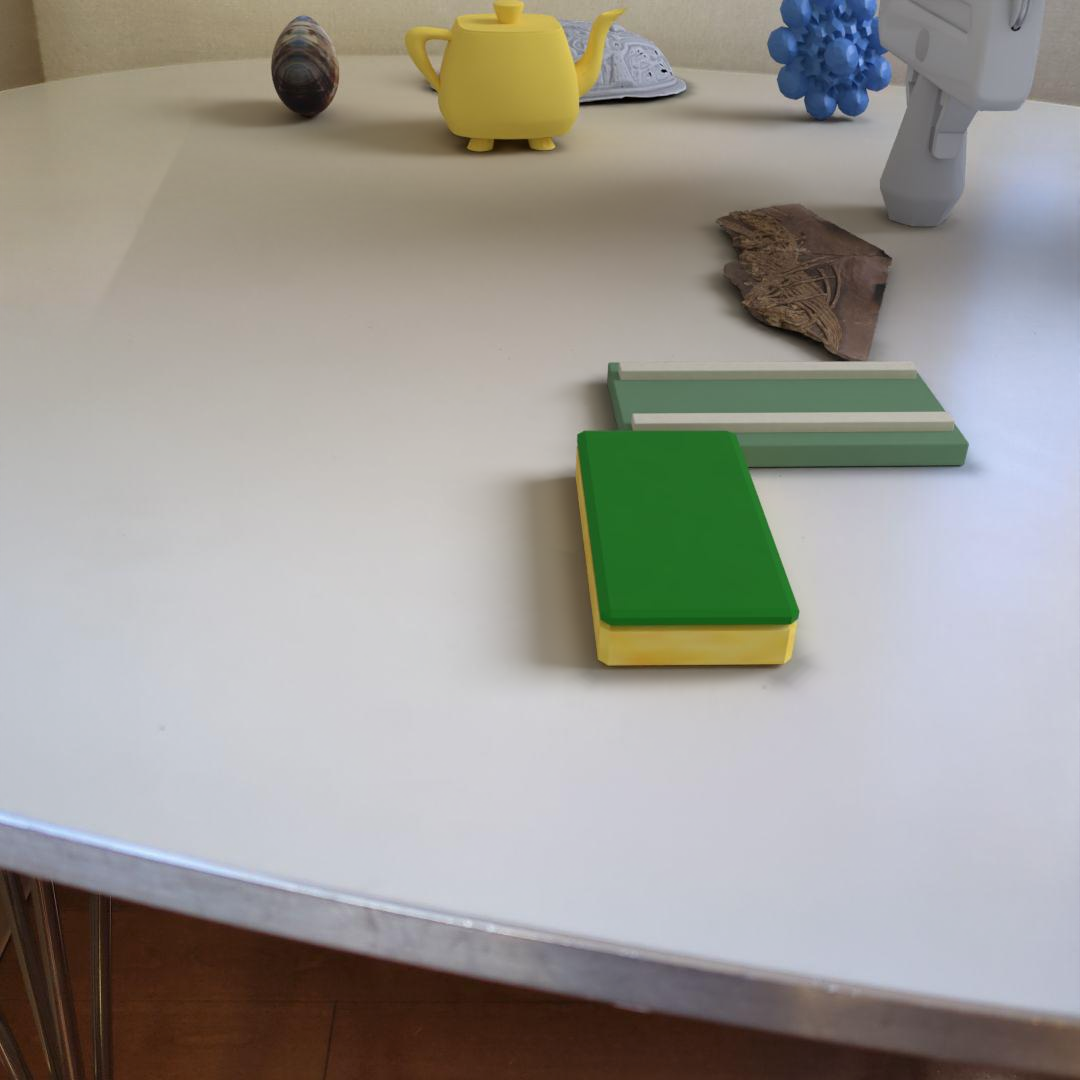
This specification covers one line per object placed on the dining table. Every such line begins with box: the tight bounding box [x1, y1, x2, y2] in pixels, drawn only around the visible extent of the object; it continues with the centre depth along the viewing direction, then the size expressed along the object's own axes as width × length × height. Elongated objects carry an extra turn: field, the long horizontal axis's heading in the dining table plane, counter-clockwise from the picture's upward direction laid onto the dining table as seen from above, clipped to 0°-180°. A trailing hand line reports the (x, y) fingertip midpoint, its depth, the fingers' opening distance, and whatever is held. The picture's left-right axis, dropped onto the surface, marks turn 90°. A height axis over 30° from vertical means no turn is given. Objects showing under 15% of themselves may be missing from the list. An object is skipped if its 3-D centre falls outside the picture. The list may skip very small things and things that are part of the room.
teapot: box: [404, 0, 628, 152], centre depth 99 cm, size 18×11×11 cm, turn 98°
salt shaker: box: [879, 29, 968, 227], centre depth 83 cm, size 6×6×13 cm
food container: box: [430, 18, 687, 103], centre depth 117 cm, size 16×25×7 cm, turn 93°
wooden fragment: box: [714, 202, 893, 362], centre depth 76 cm, size 26×11×1 cm, turn 176°
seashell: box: [270, 14, 340, 117], centre depth 104 cm, size 10×6×8 cm, turn 2°
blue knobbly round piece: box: [766, 0, 893, 121], centre depth 105 cm, size 12×7×12 cm, turn 96°
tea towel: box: [606, 360, 970, 468], centre depth 59 cm, size 16×9×2 cm, turn 93°
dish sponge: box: [575, 430, 800, 666], centre depth 49 cm, size 7×14×2 cm, turn 2°
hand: (929, 145), depth 84 cm, fingers open, 4 cm apart
